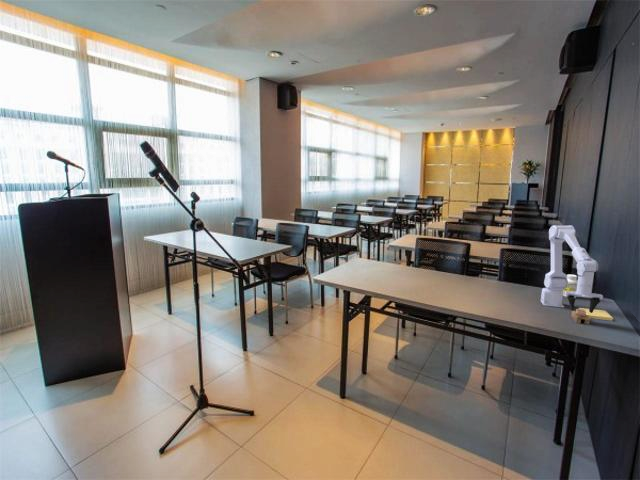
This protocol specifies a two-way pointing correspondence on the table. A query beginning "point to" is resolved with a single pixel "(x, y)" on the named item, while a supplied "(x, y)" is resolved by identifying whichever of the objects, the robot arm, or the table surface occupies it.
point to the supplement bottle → (571, 284)
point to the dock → (598, 314)
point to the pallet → (580, 318)
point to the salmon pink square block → (580, 312)
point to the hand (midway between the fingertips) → (581, 311)
